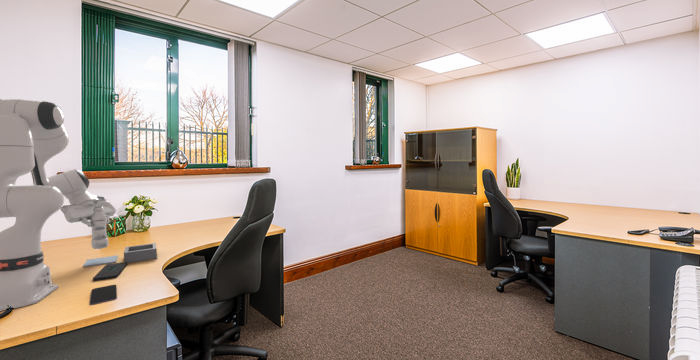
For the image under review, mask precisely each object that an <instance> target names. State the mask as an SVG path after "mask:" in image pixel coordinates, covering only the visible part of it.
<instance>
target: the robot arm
mask: <svg viewBox="0 0 700 360" xmlns="http://www.w3.org/2000/svg"><path fill="white" fill-rule="evenodd" d="M64 120H65V117H64V113H63V110H62V108H61V107H60V106H58V105H57V104H56V103H53V102H50V101H45V100H43V101H40V100H39V101H38V100H27V99H25V100H24V99H13V98H12V99H11V98H10V99H0V219H2V218H4V219H5V218H15V223H13V224H14V225H12V226H9V227H7V228H6V229H3V230H2V231H0V312H3V311H7V310H6V309H7V308H8V306H7V305H9V307H10V306H11V307H13V308H14V309H17V308H22V307H25V306H29V305H34V304H36V303H39V302H40V301H41V300H43V299H44V298H45V297H47V296H48V295H49V294H51V293H52V292H54V291H56V290H57V289H58V288H59V286H58V284H54V283H53V281H52V273H51V269H50V268H51V267H50V266H49V265H47V264H45V263H44V257H45V256H44V251H42V244H41V243H42V241H41V240H42V239H41V238H42V231H43V227H44V225H45V224H46V222H47V220H48V219H49V218H50V217H51V216H53V215H54V214H56V213H57V212H58V211H59V210H60V211H61V213H63V215H64V218H65V220H66V221H67V222H68V223H71V224H72V223H79V222H81V223H82V224H84V225H86V226H87V227H88V228H90V227H91V228H92V226H93V225H94V224H93V222H90V217H91V215H92V214H93V213H94V211H93V207H103V213H104V214H105V215H106V216H107V223H106V225H108V224H110V223H111V220H110V219H109V218H110V217H114V216H115V214H116V213H117V209H116V208H115V206H114V205H113V204H112V203H111V202H110V201H108V199H107V197H106V196H102V195H101V196H100V195H95V194H91V192H89V191H88V188H89V186H90V180H89V178H88V177H87V176H86V175H85V174H84V172H83V171H81V170H79V169H71V170H67V171H64V172H61V173H58V174H55V175H52V176H49V177H47V174H46V169H45V166H46V163H47V162H48V161H50V159H52V158H53V157H55V156H57V155H59V154H61V153H62V152H63V151H64V150H65V149H67V147H68V145H69V142H70V140H69V135H68V133H67V131H66V130H67V129H66V128H65V126H64ZM29 173H30V174H31V178H32V181H33V183H32V184H33V185H16V181H17V179H18V178H20V177H21V176H25V175H27V174H29ZM65 199H67V200H68V202H69V204H68V205H67V204H66V205H64V202H65ZM52 283H53V284H52Z"/></svg>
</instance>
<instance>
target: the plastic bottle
mask: <svg viewBox="0 0 700 360" xmlns="http://www.w3.org/2000/svg"><path fill="white" fill-rule="evenodd" d="M93 211H94V213H93V214H92V215H91V217H90V220H89V222H93V224H94V225H93V226H92V227H91V241H90V245H91V248H92V249H93V250H100V249H104V248H107V247H108V246H109V238H108V234H107V224H106V223H107V216H106V215H105V214H104V213H103V207H93Z"/></svg>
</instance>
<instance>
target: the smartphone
mask: <svg viewBox="0 0 700 360" xmlns="http://www.w3.org/2000/svg"><path fill="white" fill-rule="evenodd" d="M117 288H118V287H117V284H111V285H106V286H105V285H104V286H101V287H95V288H93V289H91V291H90V297H89V305H90V306H94V305H98V304H102V303H107V302H112V301H115V300H117V299H118V296H117V295H118V293H117V291H118V289H117Z"/></svg>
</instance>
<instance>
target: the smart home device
mask: <svg viewBox="0 0 700 360" xmlns="http://www.w3.org/2000/svg"><path fill="white" fill-rule="evenodd" d="M127 266H128V263H127V262H124V261H121V262H116V263H109V264H104V266H103V267H102V268H101V269H100V270H99V271H98V272H97V273H96V274H95V275H94V276H93V277H92V282H97V281H106V280H112V279H116V278H118V277H119V276H120V275H121V274H122V273H123V271H124V270H125V268H126V267H127Z"/></svg>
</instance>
